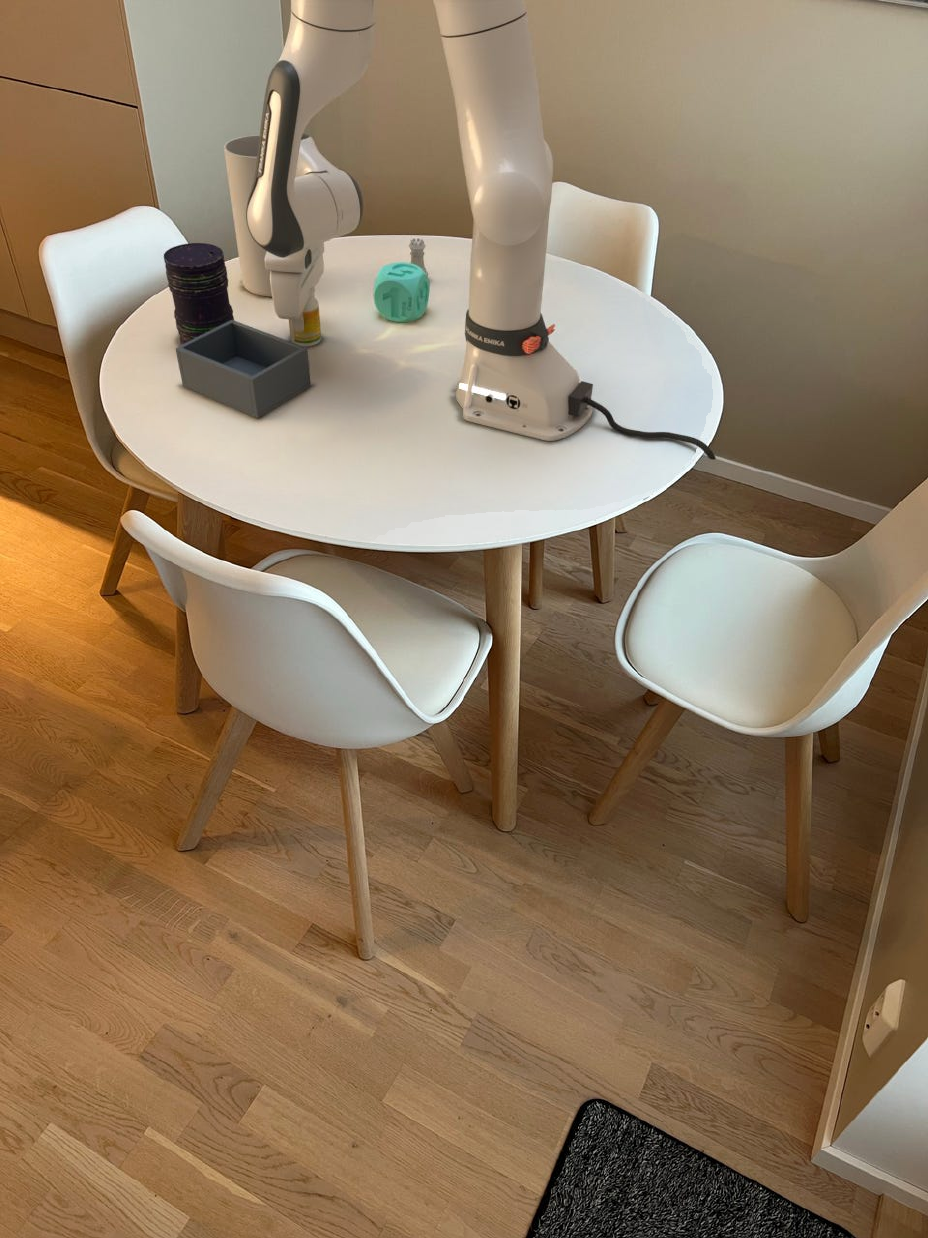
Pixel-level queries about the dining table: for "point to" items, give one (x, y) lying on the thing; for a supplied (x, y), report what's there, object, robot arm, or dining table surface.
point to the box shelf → (244, 368)
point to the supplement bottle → (308, 324)
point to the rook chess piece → (417, 253)
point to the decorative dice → (401, 292)
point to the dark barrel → (198, 288)
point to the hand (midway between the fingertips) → (304, 320)
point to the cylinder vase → (240, 183)
